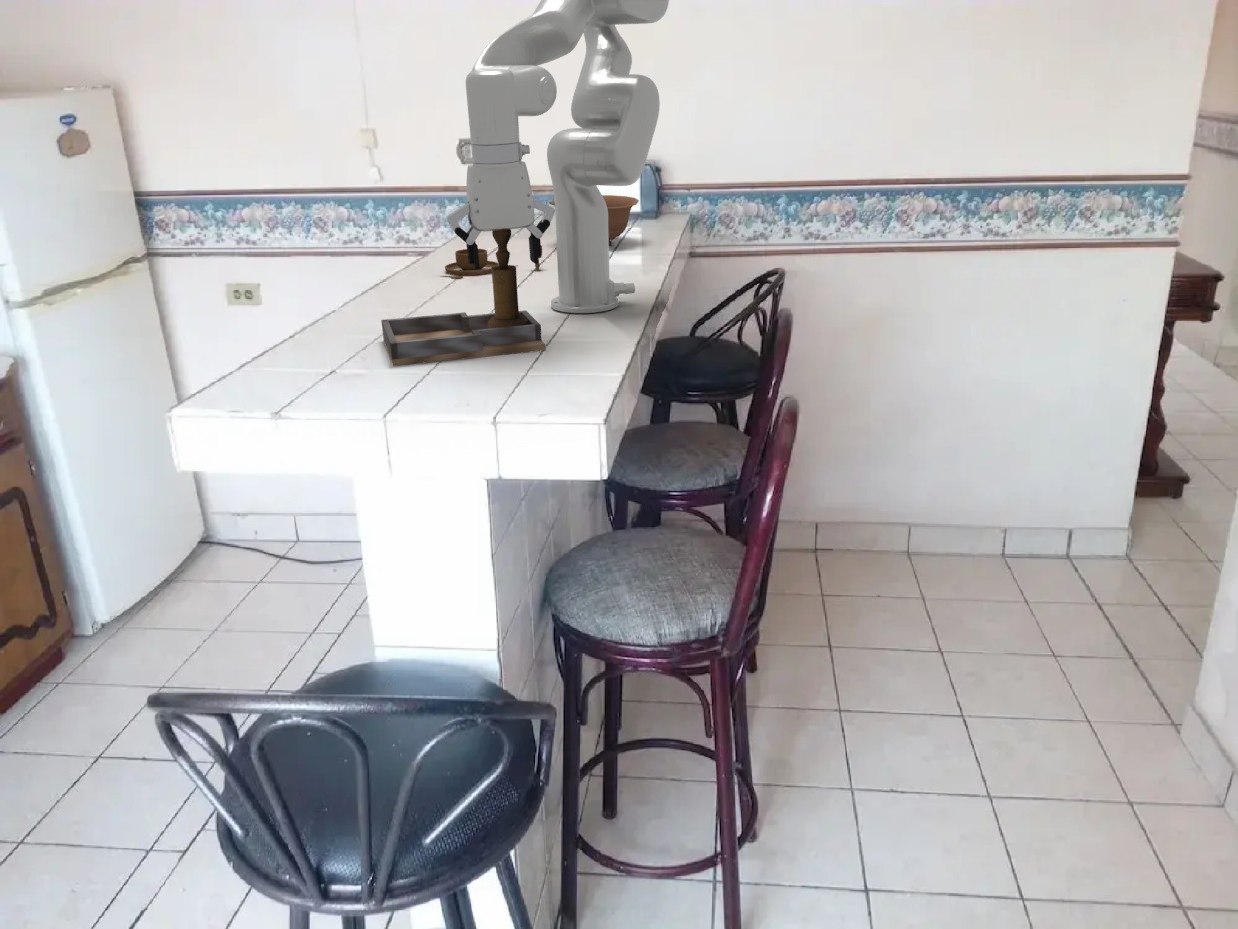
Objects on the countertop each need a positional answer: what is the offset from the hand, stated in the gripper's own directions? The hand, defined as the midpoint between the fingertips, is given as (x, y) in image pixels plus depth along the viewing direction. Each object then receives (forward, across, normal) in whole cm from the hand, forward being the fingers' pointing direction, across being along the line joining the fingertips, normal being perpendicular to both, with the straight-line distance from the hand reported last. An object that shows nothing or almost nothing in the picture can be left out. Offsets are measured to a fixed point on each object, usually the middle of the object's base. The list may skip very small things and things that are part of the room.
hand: (505, 264), depth 164 cm
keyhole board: (+12, +8, +1) cm, 15 cm away
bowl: (+15, -38, -81) cm, 91 cm away
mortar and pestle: (+12, +1, +1) cm, 12 cm away
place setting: (+15, -7, -58) cm, 60 cm away
